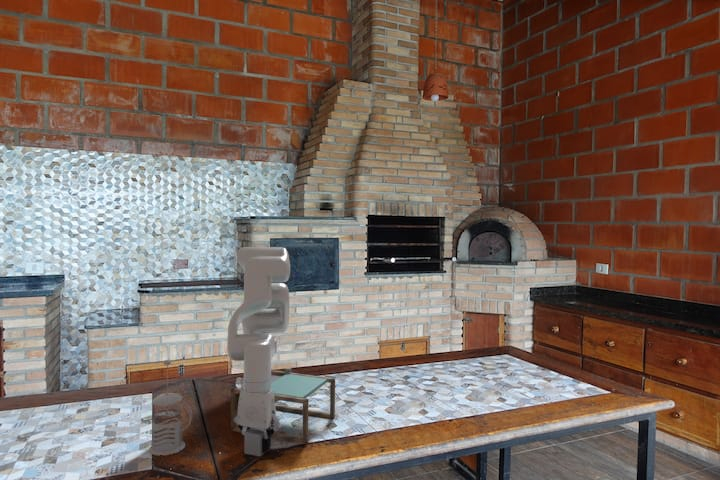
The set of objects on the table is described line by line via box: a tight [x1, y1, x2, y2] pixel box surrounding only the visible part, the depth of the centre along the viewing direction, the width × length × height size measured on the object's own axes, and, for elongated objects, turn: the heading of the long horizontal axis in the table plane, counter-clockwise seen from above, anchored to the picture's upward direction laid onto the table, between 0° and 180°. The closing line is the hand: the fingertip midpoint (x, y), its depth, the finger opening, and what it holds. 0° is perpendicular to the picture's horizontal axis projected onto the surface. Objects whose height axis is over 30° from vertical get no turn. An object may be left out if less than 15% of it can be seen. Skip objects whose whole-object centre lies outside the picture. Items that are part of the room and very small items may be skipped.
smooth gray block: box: [243, 428, 265, 457], centre depth 133 cm, size 5×5×6 cm
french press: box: [148, 359, 193, 456], centre depth 135 cm, size 10×12×25 cm
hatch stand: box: [230, 367, 336, 446], centre depth 152 cm, size 26×21×14 cm
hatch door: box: [271, 374, 328, 404], centre depth 152 cm, size 22×18×8 cm
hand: (257, 448), depth 134 cm, fingers closed on smooth gray block, 5 cm apart
